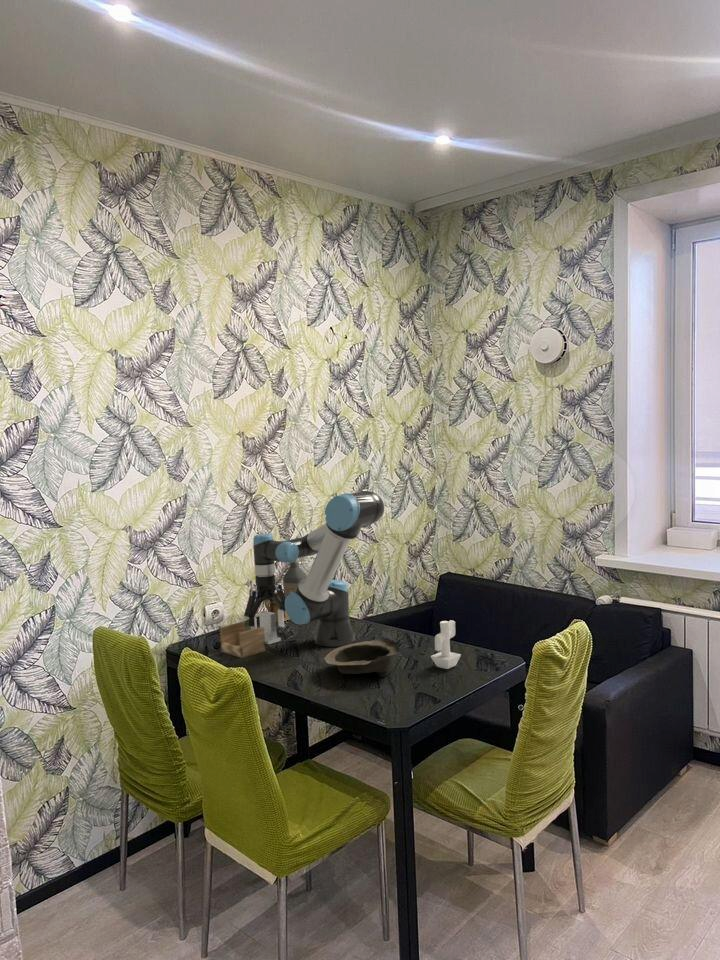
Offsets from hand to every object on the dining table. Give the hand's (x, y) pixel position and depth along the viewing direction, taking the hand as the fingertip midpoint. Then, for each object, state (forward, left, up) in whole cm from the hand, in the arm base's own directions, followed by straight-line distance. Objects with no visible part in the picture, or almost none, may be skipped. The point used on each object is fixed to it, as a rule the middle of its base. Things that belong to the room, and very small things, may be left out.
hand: (268, 630), depth 281 cm
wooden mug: (+21, -19, -4) cm, 29 cm away
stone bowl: (-54, +3, -4) cm, 54 cm away
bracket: (0, 0, -4) cm, 4 cm away
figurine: (-72, -18, -4) cm, 74 cm away
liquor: (+23, -33, -4) cm, 40 cm away
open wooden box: (-3, +14, -4) cm, 15 cm away
